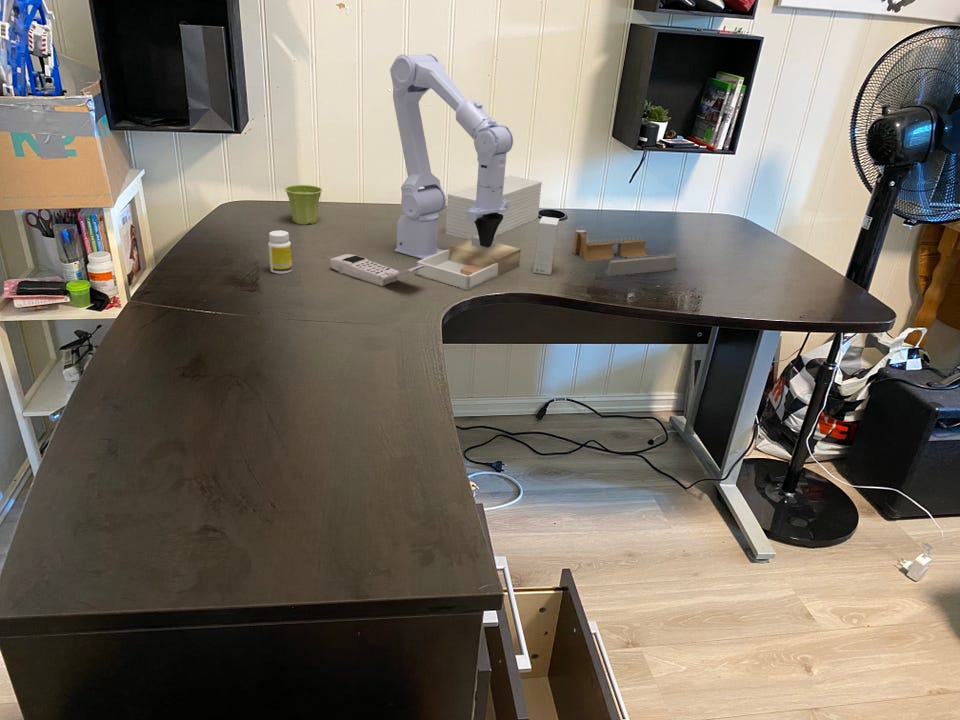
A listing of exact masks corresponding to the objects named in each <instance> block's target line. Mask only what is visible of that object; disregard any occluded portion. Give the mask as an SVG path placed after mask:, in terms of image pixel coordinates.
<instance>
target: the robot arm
mask: <svg viewBox="0 0 960 720" xmlns="http://www.w3.org/2000/svg"><path fill="white" fill-rule="evenodd" d="M389 72H390V79H391V83H392V98H393V99H392V100H393V105H394V111H395V116H396V121H397V127H398V132H399V136H400V142H401V146H402V147H401V149H402V152H403V153H402V154H403V159H404V162H405V170H406V174H407V177H406V179H405V181H404V182H403V184H402V185H401V187H400V190H401V199H400V205H401V209H402V212H403V213H402V214H401V215H400V216H399V218H398V220H397V226H396V248H395V249H394V251H395V252H397V253H401V254H404V255H408V256H411V257H414V258H417V259H420V260H422V259H425V258H427V257H430V256H432V255H435V254H437V253H440V252H442V251H445V250H444V249H441V248H438V243H439V241H438V239H439V237H438V235H439V217H441V212H442V211H443V210H444V209H445V208H446V205H447V198H446V194H445V192H444V190H443V188H442V186H441V181H440V179H439V178H438V177H437V176H435V175H434V174H433V173H432V169H431V163H430V158H429V153H428V149H427V147H428V146H427V143H426V137H425V132H424V126H423V125H424V124H423V120H422V115H421V108H420V103H419V102H421V99H422V98H423V96H424V95H425V94H426V93H427V92H428V91H429V90H430V89H431V90H433V91H434V92H435V93H436V94H437V96H439V97H440V98H441V99H442V100H443V101H444V102H445V103H446V104H447V105H448V106H449V107H450V108H451V109H452V110H453V111H454V112H455V120H456V122H457V123H458V124H459V125H460V127H461V128H462V129H463V130H464V131H465V132H466V133H467V134H468V135H469V136H470V137H471V138H472V140H473V145H474V150H475V152H476V153H477V155H476V156H477V163H478V169H477V181H476V182H477V183H476V184H477V193H476V204H474V206H473V207H472V208H471V209H469V210H467V213H466V220H470V221H474V222H475V225H476V227H477V231H478V235H479V241H480V246H483V247H487V248H488V247H491V245H492V242H493V239H494V237H496V236H495V233H496V230H497V228H498V226H499V224H500V223H501V221H502V220H503V215H502V214H498V212H500V213H503V212H505V211H506V209H509V200H505V199H503V188H504V177H506V176H505V173H506V164H507V153H509V152H510V151H511V150H512V148H513V144H514V138H513V134H512V132H511V130H510V129H509V127H508V126H506V125H504V124H499V123H498V122H497V121H496V120H495V119H494V118H492V117H491V116H490V114H488V113H487V111H486V110H484V108H483V107H484V104H482V103H481V102H480V101H476V100H474V99H469V100H468V99H467V97H466V96H465V95H464V93H462V91H461V90H460V89H459V87H458V86H457V85H456V84H455V82H454V81H453V80H452V79H451V77H450V76H449V74H448V73H447V72H446V70H445V65H444V63H442V62H441V61H439V59H438V58H437V56H436V55H434V54H431V53H430V54H408V55H407V54H399V55H398V56H397V57H396V58H395V59H394V61H393V62H392V64H391V67H390V69H389ZM422 187H424V188H422Z"/></svg>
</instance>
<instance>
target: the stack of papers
mask: <svg viewBox="0 0 960 720" xmlns="http://www.w3.org/2000/svg"><path fill="white" fill-rule="evenodd" d="M542 184H543V181H540V180H539V181H538V180H533V179H528V178H524V177H520V176H519V177H518V176H513V175H507V176H505V177H504V188H503V199H505V200H509V209H506V211H505V212H503V213H500V212H498V214H502V215H503V220H502V221H501V223H500V224H499V226H498V228H497V230H496V233H495V236H494V237H496V236H498V234H499V235H502V234H503V232H504V233H506V232H508V231H510V229H511V230H513V229H515V228H514V227H516V226H518V227H520V226H522V225H521V224H523V225H525V224H528V223H529V221H530V222H532V221H534V219H535V220H537V219H538V218H539V211H540V210H539V209H540V201H541V194H542V193H541V191H542ZM476 193H477V185H473V186H470V187H467V188H463V189H460V190H457V191H454V192H450V193H447V198H446V205H447V206H446V220H445V221H446V222H445V223H446V224H445V234H446V235H449V234H450V236H453V235H454V237H457V238H460V237H461V238H462V239H464V238H465V240H468V239H471V238H472V237H473V236H476V235H478V231H477V227H476V225H475V222H474V221H470V220H466V213H467V210H469V209H471V208H472V207H473V206H474V204H476ZM536 218H537V219H536ZM524 223H525V224H524ZM519 225H520V226H519ZM512 228H513V229H512ZM516 228H517V227H516ZM507 230H508V231H507ZM505 231H506V232H505Z"/></svg>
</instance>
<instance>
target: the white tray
mask: <svg viewBox="0 0 960 720" xmlns="http://www.w3.org/2000/svg"><path fill="white" fill-rule="evenodd" d="M422 264H426V266H425V267H422V268H420V269H417V270H415V275H416V276H419V275H420V276H419V277H423V278H426V279H428V280H432V279H433V281H435V280H436V281H435V282H438V281H439V283H442V284H445V283H446V284H445V285H448V284H450V285H449V286H452V285H453V287H455V286H456V288H458V287H459V288H458V289H462V290H465V289H466V290H465V291H469V289H470V290H472V289H474V288H476V287H478V286H480V285H483V284H484V283H486V282H488V281H490V280H492V279H494V278H496V277H498V276H497V273H498V263H495V264H492V265H490V266H488V267H486V268H484V269H482V270H479V271H477V272H475V273H473V274H471V275H469V276H467V275H464V274H460V270H461V269H462V268H464V267H466V266H468V265H464V264H461V263H457V262H453V261H450V249H445V250H444V251H442V252H440V253H437V254H435V255H432V256H430V257H427V258H425V259H420V260H417V261H416V262H415V267H416V266H419V265H422ZM495 276H496V277H495ZM493 277H494V278H493ZM491 278H492V279H491ZM485 281H486V282H485ZM483 282H484V283H483ZM479 284H480V285H479Z"/></svg>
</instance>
